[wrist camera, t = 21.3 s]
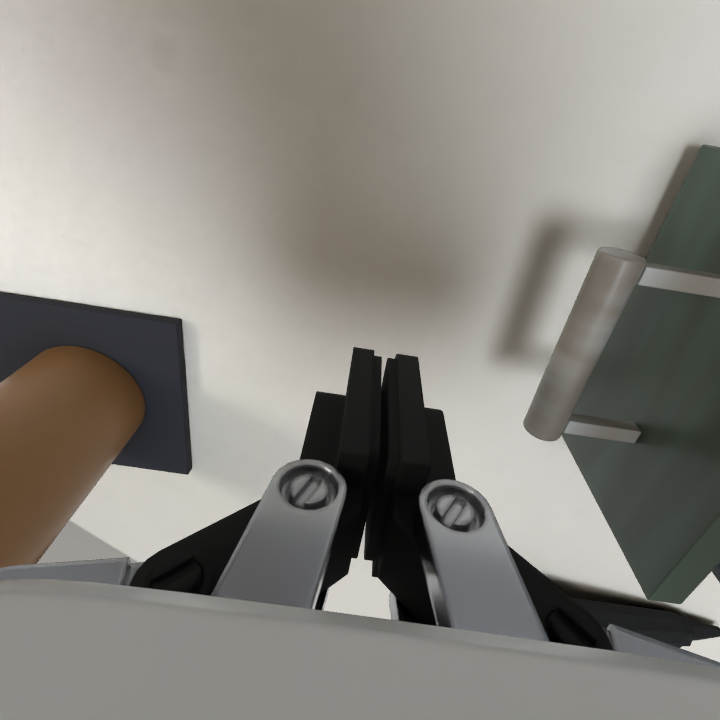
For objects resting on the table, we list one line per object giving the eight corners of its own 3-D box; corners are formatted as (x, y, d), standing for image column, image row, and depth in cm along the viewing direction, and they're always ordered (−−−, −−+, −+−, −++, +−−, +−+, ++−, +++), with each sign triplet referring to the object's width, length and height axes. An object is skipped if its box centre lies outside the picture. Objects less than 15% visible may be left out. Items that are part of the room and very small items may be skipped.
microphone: (697, 570, 33) (452, 549, 30) (776, 634, 28) (488, 618, 24) (671, 629, 35) (433, 615, 31) (742, 701, 29) (463, 696, 25)
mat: (-29, 287, 21) (-39, 291, 20) (181, 318, 21) (176, 324, 21) (23, 443, 26) (16, 450, 26) (192, 467, 26) (188, 475, 26)
